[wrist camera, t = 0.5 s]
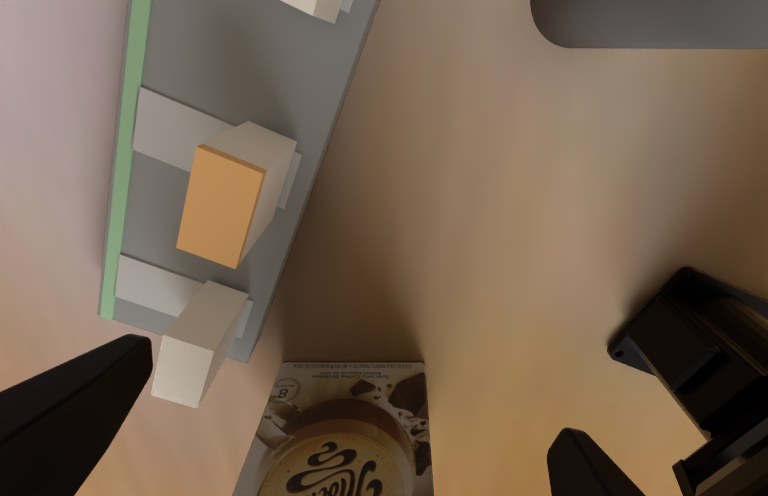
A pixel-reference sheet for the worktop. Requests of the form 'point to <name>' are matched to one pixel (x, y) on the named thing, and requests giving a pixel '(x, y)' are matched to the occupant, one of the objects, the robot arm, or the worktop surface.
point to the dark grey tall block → (653, 23)
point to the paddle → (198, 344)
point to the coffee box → (342, 433)
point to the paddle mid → (233, 192)
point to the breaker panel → (208, 120)
